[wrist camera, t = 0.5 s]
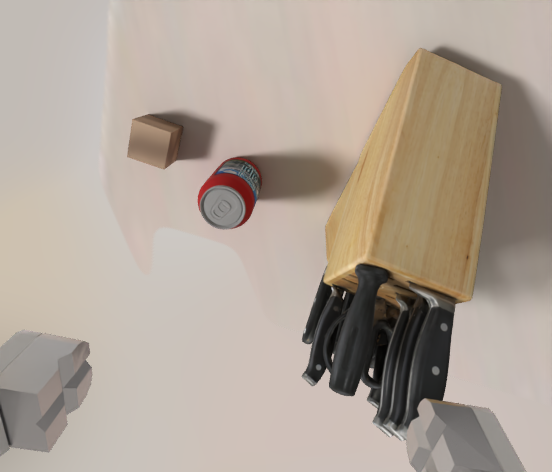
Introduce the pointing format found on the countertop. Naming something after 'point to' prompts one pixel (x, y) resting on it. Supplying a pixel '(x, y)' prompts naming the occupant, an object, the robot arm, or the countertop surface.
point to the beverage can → (230, 194)
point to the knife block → (406, 242)
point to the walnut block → (154, 141)
